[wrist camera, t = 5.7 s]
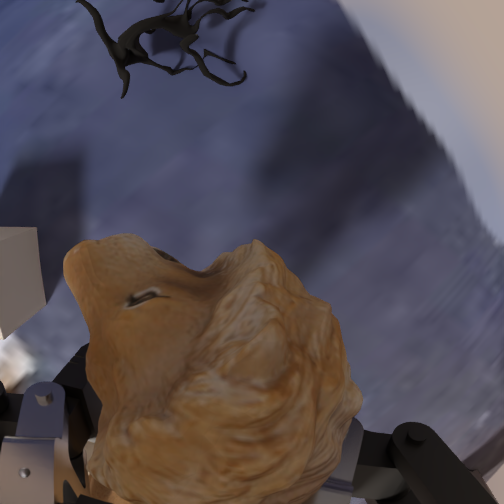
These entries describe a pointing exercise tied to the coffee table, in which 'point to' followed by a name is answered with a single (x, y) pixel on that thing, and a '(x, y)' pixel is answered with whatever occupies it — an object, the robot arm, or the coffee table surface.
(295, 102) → the coffee table surface
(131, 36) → the creature
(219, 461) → the lion figurine
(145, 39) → the coffee table surface
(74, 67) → the coffee table surface
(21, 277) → the beige block
